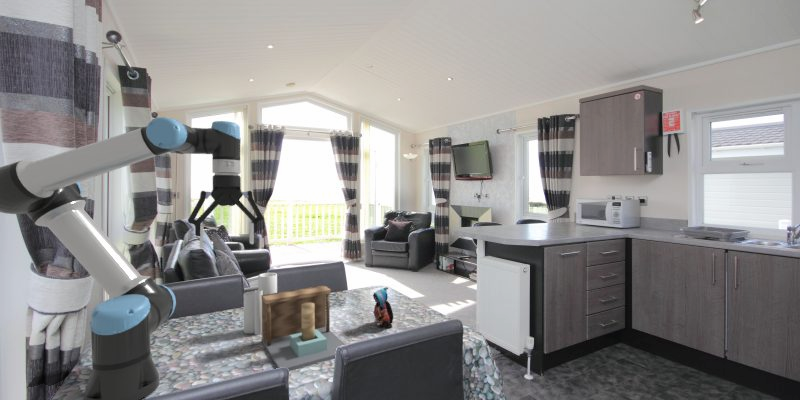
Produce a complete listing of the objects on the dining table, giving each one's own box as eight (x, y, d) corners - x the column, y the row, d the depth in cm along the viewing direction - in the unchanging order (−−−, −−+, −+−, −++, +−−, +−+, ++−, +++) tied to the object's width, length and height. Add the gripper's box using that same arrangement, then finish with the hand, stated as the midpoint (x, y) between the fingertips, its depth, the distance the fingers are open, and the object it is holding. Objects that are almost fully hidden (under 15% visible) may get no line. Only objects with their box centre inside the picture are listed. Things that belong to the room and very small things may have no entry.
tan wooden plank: (266, 349, 114) (266, 300, 114) (262, 342, 120) (261, 295, 119) (331, 334, 126) (331, 289, 126) (324, 328, 132) (324, 285, 131)
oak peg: (304, 351, 111) (303, 307, 110) (300, 347, 114) (299, 303, 113) (316, 348, 113) (316, 305, 112) (312, 344, 116) (312, 301, 116)
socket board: (280, 373, 100) (280, 357, 100) (261, 341, 120) (261, 328, 120) (351, 353, 112) (351, 339, 112) (323, 327, 132) (323, 315, 132)
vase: (274, 323, 136) (274, 271, 135) (279, 330, 130) (279, 275, 129) (242, 330, 129) (242, 275, 129) (246, 337, 123) (246, 280, 123)
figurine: (367, 323, 136) (367, 284, 136) (383, 319, 140) (383, 282, 140) (379, 332, 128) (380, 291, 127) (396, 328, 132) (396, 288, 131)
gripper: (177, 173, 96) (179, 251, 97) (273, 175, 110) (273, 243, 111) (177, 173, 102) (178, 247, 103) (267, 175, 116) (267, 240, 117)
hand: (227, 245), depth 107 cm, fingers open, 13 cm apart
